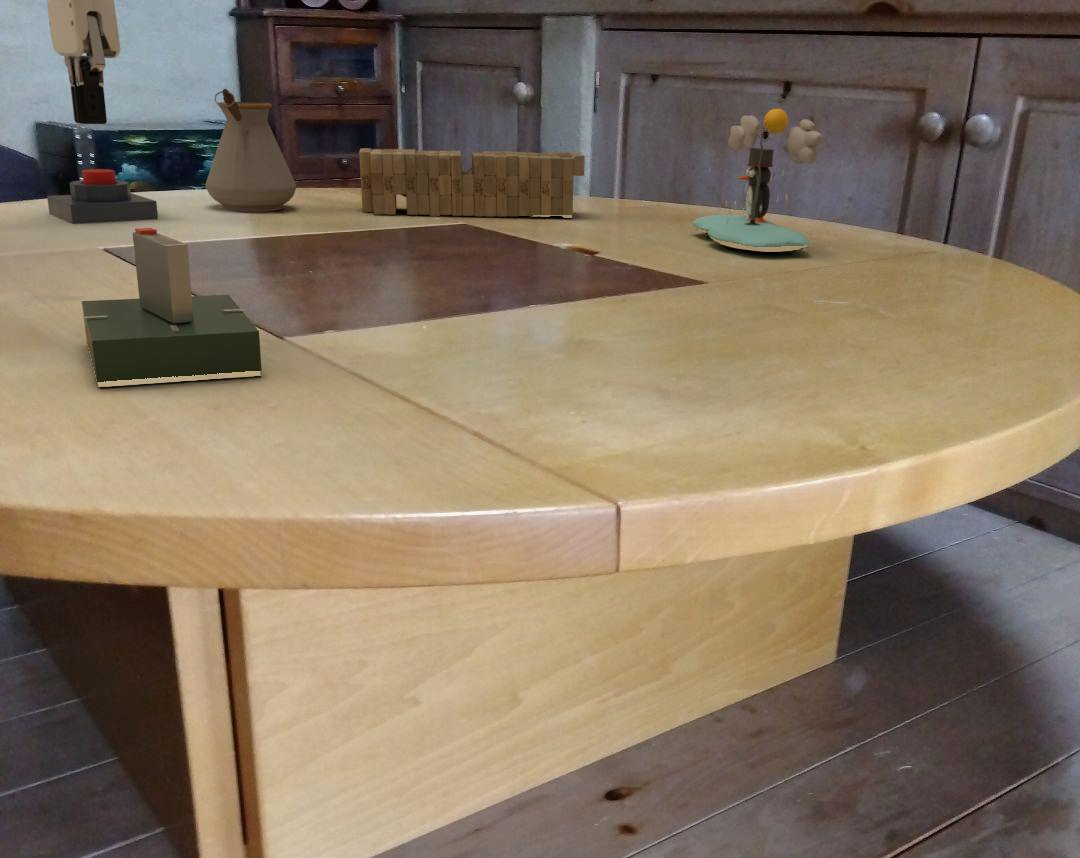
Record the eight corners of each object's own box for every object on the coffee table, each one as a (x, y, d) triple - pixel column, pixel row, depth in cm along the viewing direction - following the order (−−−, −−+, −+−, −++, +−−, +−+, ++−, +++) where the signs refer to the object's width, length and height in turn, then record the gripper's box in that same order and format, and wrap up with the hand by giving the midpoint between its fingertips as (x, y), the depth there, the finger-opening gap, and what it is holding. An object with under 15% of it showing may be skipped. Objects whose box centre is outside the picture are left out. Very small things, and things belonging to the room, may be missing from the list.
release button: (89, 188, 131) (87, 172, 130) (79, 184, 134) (77, 169, 133) (120, 187, 133) (118, 171, 133) (110, 183, 136) (108, 168, 135)
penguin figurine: (685, 231, 142) (696, 102, 136) (767, 233, 143) (781, 105, 137) (726, 258, 123) (740, 110, 117) (819, 260, 125) (839, 114, 118)
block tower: (361, 221, 145) (584, 219, 148) (357, 153, 142) (586, 151, 145) (364, 213, 153) (576, 210, 155) (360, 147, 149) (577, 146, 152)
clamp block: (96, 388, 69) (89, 337, 68) (85, 343, 79) (79, 298, 78) (263, 376, 73) (260, 328, 72) (233, 335, 83) (230, 292, 82)
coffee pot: (215, 201, 152) (206, 82, 146) (302, 203, 153) (296, 85, 147) (183, 224, 132) (171, 87, 126) (282, 226, 133) (275, 90, 127)
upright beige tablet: (194, 322, 73) (187, 239, 71) (173, 324, 72) (165, 241, 70) (160, 305, 77) (152, 227, 75) (139, 307, 76) (131, 228, 74)
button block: (72, 224, 129) (68, 188, 127) (49, 214, 135) (44, 180, 134) (158, 219, 135) (155, 185, 133) (132, 210, 141) (128, 177, 139)
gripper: (129, -55, 120) (146, 127, 127) (85, -47, 131) (102, 120, 138) (57, -63, 116) (78, 127, 123) (17, -54, 127) (38, 120, 134)
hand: (90, 123), depth 130 cm, fingers closed
